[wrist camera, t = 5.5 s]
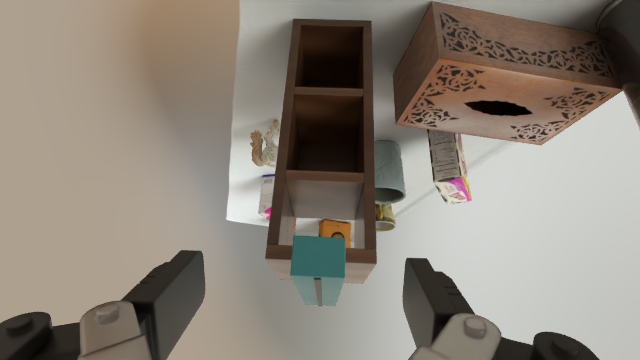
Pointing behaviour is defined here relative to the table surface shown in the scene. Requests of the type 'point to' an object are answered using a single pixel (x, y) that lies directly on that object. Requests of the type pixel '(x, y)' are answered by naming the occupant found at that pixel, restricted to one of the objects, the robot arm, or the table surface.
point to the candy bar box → (449, 166)
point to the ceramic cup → (384, 217)
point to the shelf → (326, 141)
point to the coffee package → (335, 230)
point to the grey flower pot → (388, 173)
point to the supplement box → (266, 196)
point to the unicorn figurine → (270, 150)
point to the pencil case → (318, 268)
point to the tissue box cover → (500, 76)
